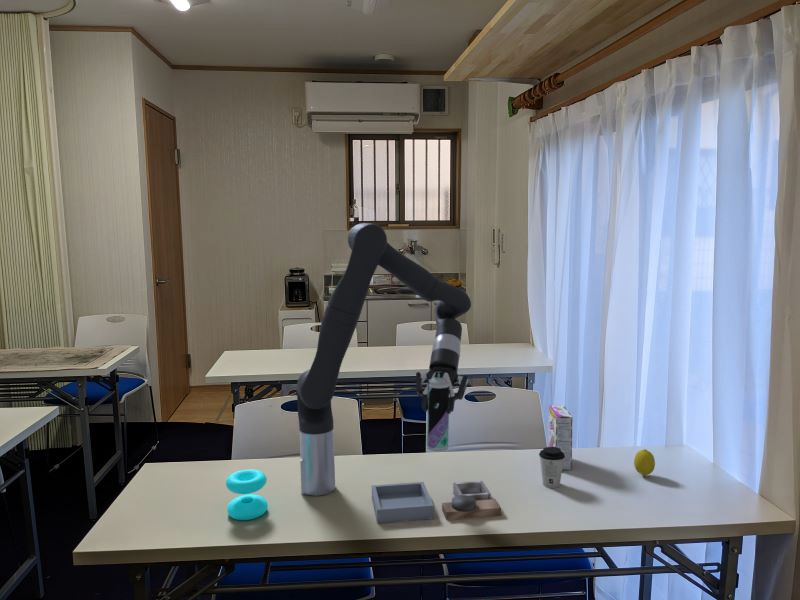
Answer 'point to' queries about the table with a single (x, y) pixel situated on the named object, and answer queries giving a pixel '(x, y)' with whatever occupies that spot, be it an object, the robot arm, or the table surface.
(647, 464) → the lemon
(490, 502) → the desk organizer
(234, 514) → the donuts
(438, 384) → the spray can
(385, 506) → the tray
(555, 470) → the coffee cup
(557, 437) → the candy bar box
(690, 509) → the table surface
